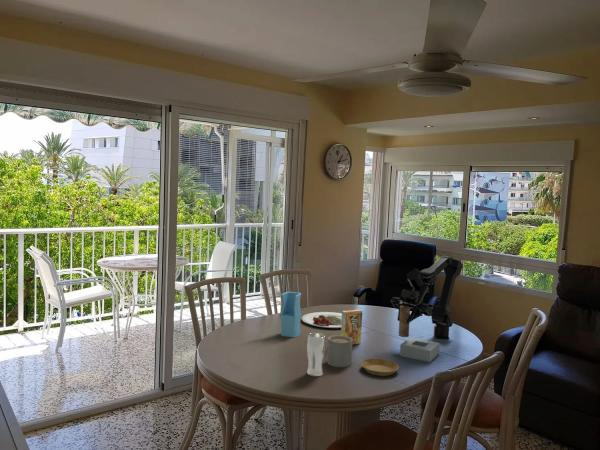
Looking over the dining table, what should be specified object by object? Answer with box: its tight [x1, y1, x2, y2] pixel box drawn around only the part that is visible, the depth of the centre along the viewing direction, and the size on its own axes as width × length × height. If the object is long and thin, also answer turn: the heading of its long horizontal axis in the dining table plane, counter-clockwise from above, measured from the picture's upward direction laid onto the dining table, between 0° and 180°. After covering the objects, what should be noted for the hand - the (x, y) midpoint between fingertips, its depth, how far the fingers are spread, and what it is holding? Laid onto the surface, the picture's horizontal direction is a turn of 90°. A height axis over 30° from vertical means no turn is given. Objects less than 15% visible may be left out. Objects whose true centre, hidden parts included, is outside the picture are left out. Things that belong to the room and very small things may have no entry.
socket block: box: [399, 337, 440, 363], centre depth 211 cm, size 13×13×5 cm
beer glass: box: [306, 332, 326, 377], centre depth 185 cm, size 7×7×15 cm
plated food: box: [301, 311, 342, 329], centre depth 259 cm, size 30×30×3 cm
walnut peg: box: [398, 306, 411, 338], centre depth 215 cm, size 4×4×13 cm
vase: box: [279, 291, 303, 338], centre depth 233 cm, size 8×8×20 cm
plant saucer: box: [360, 358, 400, 377], centre depth 191 cm, size 15×15×3 cm
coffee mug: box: [326, 334, 353, 368], centre depth 199 cm, size 13×10×10 cm
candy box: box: [340, 309, 363, 345], centre depth 223 cm, size 9×4×15 cm, turn 116°
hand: (402, 321), depth 214 cm, fingers closed on walnut peg, 4 cm apart
